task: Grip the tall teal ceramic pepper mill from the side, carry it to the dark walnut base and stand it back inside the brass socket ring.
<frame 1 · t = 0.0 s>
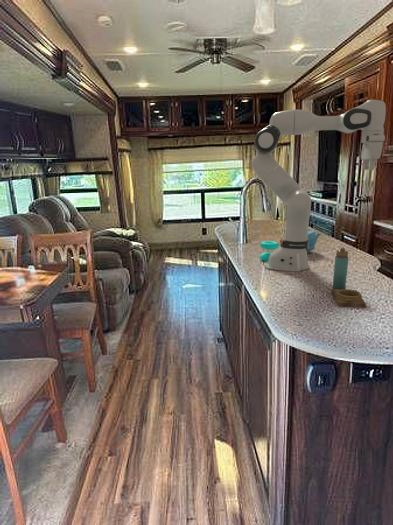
hand: (368, 169, 163), 48 cm above the worktop, tool pointing down, fingers open, 8 cm apart
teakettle: (301, 252, 213), on the worktop
donuts: (268, 260, 197), on the worktop
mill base: (347, 299, 136), on the worktop
pepper mill: (338, 289, 147), on the worktop
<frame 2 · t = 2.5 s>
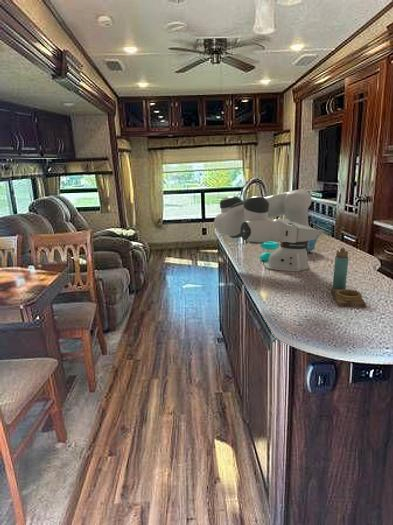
hand: (316, 229, 138), 26 cm above the worktop, tool horizontal, fingers open, 8 cm apart
nothing on the worktop moved.
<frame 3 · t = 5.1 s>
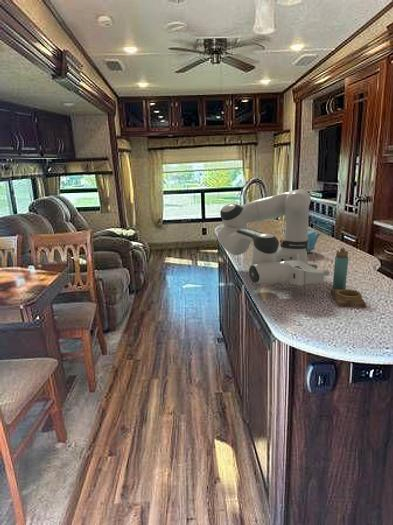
hand: (322, 269, 143), 9 cm above the worktop, tool horizontal, fingers open, 8 cm apart
nothing on the worktop moved.
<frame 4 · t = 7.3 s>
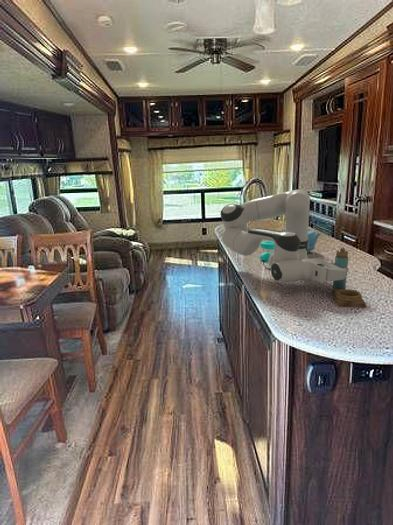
hand: (342, 267, 145), 10 cm above the worktop, tool horizontal, fingers closed on pepper mill, 5 cm apart
pepper mill: (338, 289, 147), on the worktop, touching gripper
everything else where it was.
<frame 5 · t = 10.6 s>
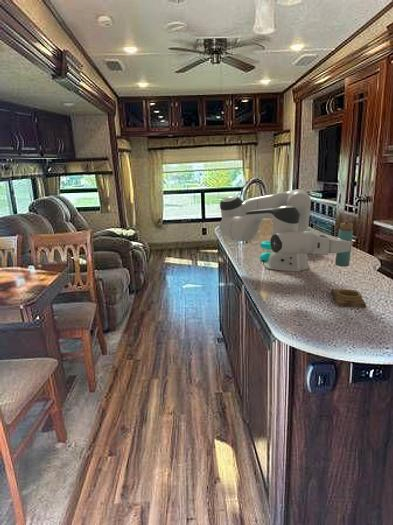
hand: (346, 241, 137), 22 cm above the worktop, tool horizontal, fingers closed on pepper mill, 5 cm apart
pepper mill: (342, 264, 139), point 12 cm above the worktop, touching gripper
everything else where it was.
when the fingers open (12 cm above the worktop, at t = 14.2 s): pepper mill drops 1 cm, resting on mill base.
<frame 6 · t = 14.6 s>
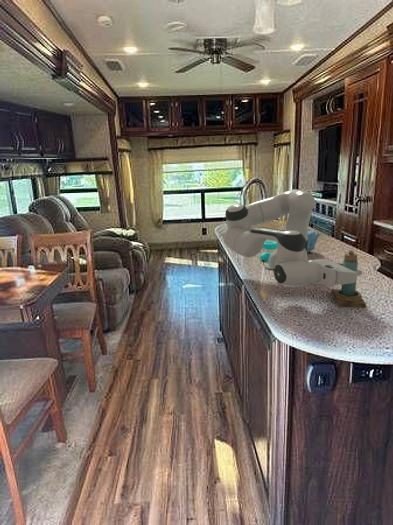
hand: (353, 269, 132), 12 cm above the worktop, tool horizontal, fingers open, 8 cm apart
pepper mill: (348, 296, 134), point 2 cm above the worktop, touching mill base
everything else where it was.
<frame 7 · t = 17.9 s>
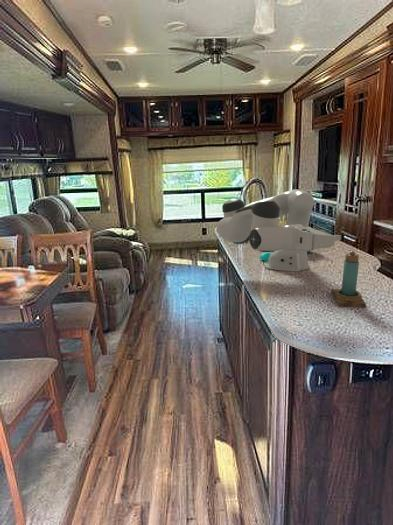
hand: (332, 235, 126), 26 cm above the worktop, tool horizontal, fingers open, 8 cm apart
nothing on the worktop moved.
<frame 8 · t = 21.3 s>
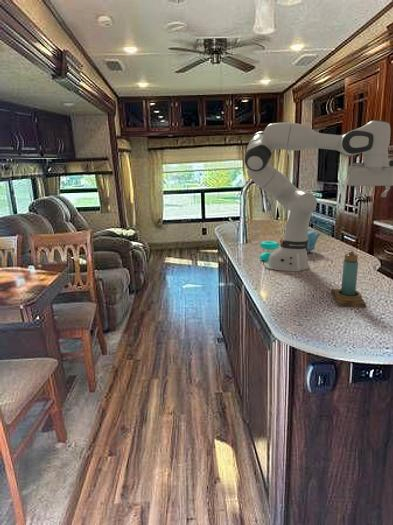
hand: (371, 197, 148), 37 cm above the worktop, tool pointing down, fingers open, 8 cm apart
nothing on the worktop moved.
at the end: pepper mill 0.1 cm from the target spot on the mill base, point 1.5 cm above the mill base's base; pepper mill tilted 1°; the gripper is holding nothing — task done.
